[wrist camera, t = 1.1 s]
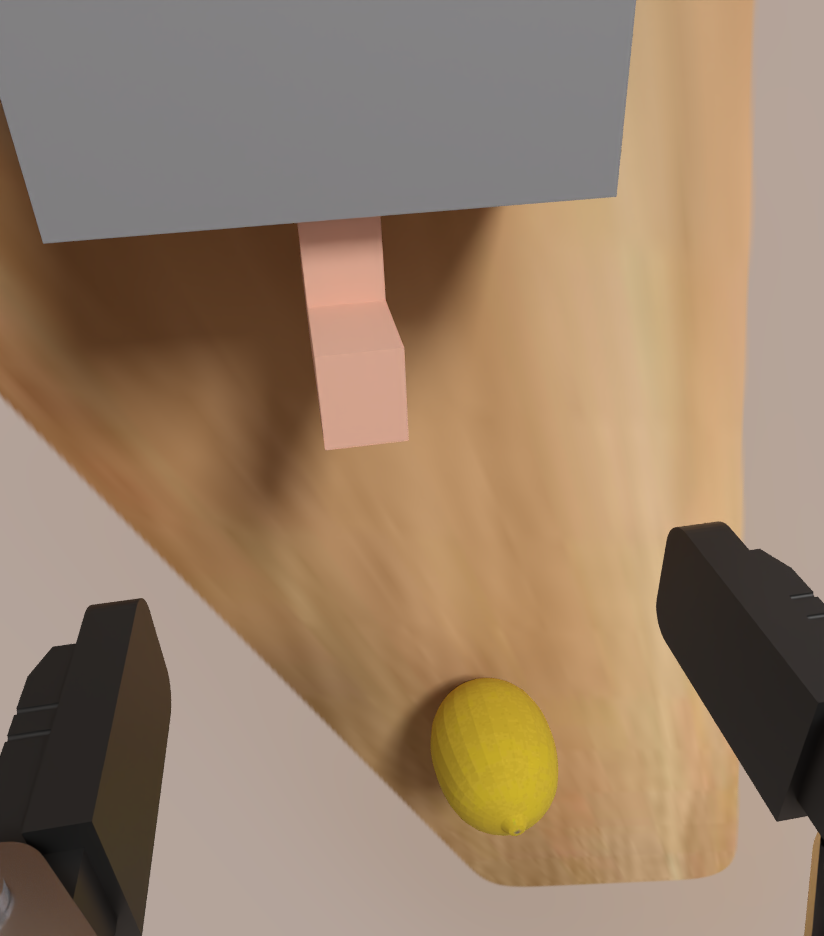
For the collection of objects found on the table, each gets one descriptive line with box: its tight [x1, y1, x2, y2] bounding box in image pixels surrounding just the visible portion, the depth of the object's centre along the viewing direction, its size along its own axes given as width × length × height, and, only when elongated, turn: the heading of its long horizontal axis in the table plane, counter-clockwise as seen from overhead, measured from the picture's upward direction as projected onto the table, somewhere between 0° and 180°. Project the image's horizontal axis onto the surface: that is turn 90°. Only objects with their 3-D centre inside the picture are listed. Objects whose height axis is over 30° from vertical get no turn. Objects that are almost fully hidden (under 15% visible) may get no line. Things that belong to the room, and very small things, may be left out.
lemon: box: [431, 678, 558, 836], centre depth 35 cm, size 6×6×8 cm
